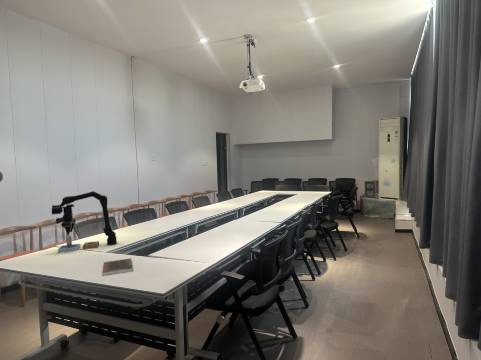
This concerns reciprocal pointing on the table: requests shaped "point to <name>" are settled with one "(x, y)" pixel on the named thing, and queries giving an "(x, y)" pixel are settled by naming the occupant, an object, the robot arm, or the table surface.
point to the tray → (73, 248)
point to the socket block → (91, 245)
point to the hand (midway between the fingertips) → (69, 233)
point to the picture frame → (117, 267)
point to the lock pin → (69, 241)
